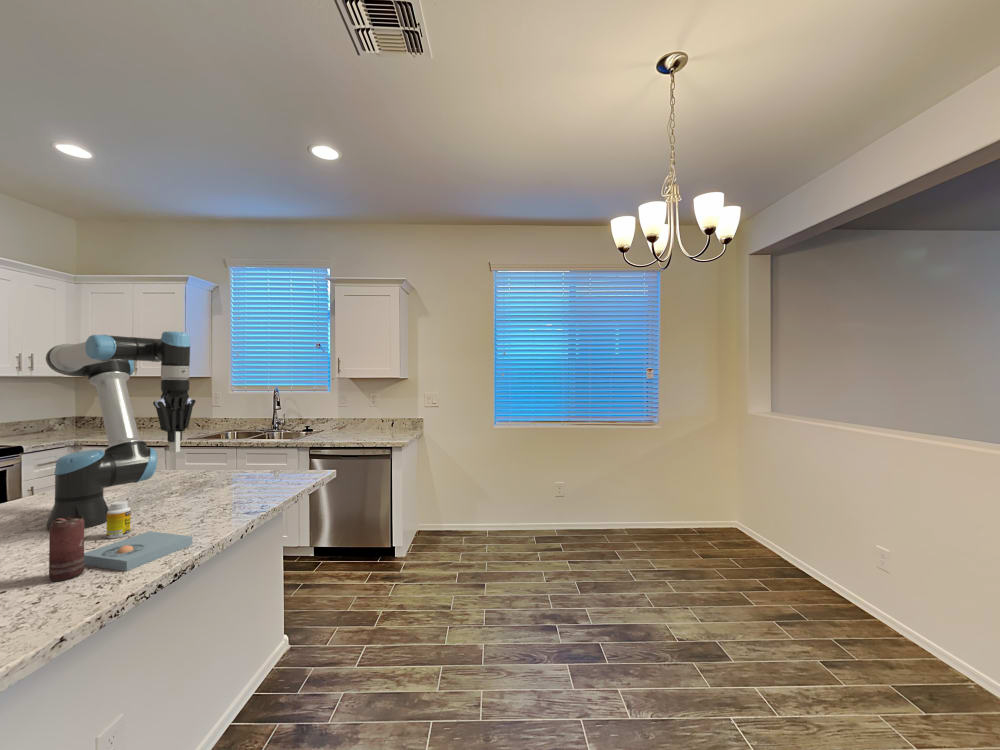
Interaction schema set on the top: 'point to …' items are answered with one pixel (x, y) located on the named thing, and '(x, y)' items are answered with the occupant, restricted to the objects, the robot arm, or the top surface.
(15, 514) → the top surface
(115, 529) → the supplement bottle
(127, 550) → the ball
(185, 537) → the board
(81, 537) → the can
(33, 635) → the top surface
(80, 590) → the top surface
